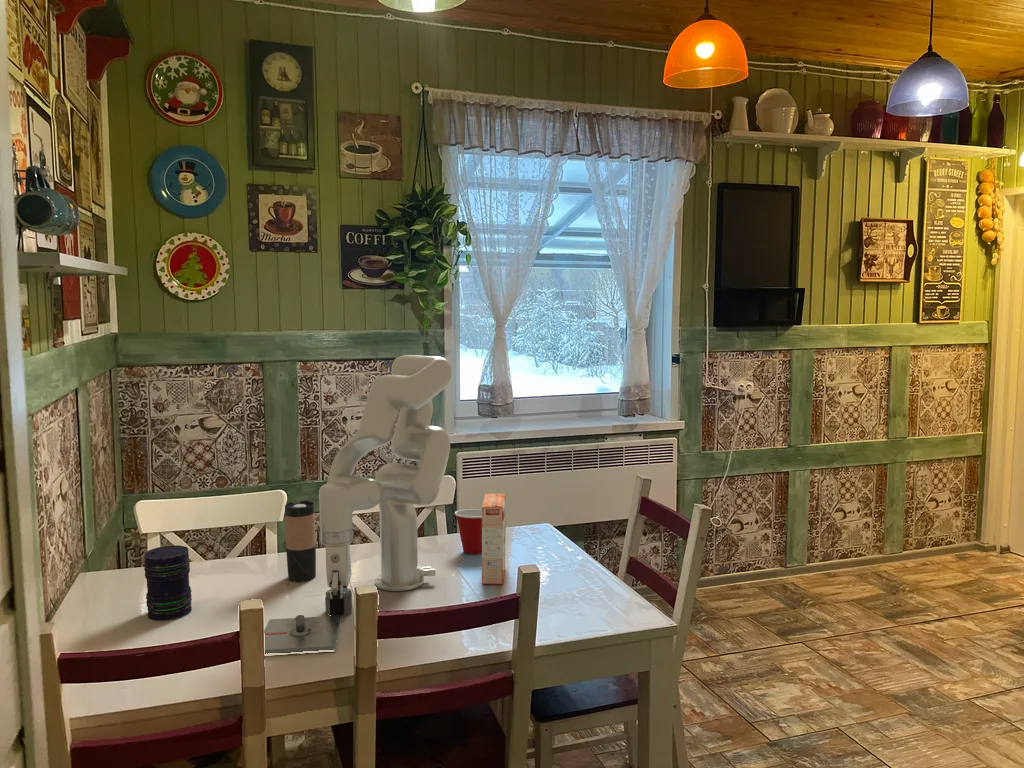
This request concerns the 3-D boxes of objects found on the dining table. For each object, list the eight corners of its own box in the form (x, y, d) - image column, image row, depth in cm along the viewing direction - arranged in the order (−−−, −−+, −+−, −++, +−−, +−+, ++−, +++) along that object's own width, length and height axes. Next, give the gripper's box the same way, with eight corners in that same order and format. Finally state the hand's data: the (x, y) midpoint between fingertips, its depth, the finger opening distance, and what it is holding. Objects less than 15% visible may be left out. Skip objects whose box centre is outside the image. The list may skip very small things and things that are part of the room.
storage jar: (196, 603, 194) (193, 544, 193) (187, 619, 185) (183, 557, 183) (153, 606, 193) (149, 546, 191) (141, 622, 183) (137, 560, 182)
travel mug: (306, 583, 207) (303, 509, 205) (281, 580, 210) (278, 506, 207) (322, 574, 214) (319, 501, 212) (298, 571, 217) (295, 499, 214)
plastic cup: (497, 547, 235) (497, 508, 234) (483, 559, 225) (483, 518, 224) (464, 544, 239) (463, 505, 238) (448, 555, 229) (448, 514, 228)
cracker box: (504, 585, 205) (503, 506, 203) (481, 585, 205) (480, 506, 203) (506, 566, 219) (506, 492, 217) (484, 566, 219) (484, 492, 217)
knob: (353, 606, 192) (352, 585, 191) (351, 616, 186) (350, 595, 186) (327, 607, 191) (326, 587, 191) (324, 617, 185) (324, 596, 185)
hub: (341, 621, 183) (340, 600, 182) (334, 652, 167) (333, 629, 167) (269, 625, 181) (268, 604, 180) (255, 657, 165) (254, 634, 165)
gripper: (350, 546, 178) (352, 621, 180) (355, 524, 196) (357, 593, 198) (315, 548, 178) (318, 623, 180) (324, 525, 195) (326, 594, 197)
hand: (339, 607), depth 189 cm, fingers open, 7 cm apart
